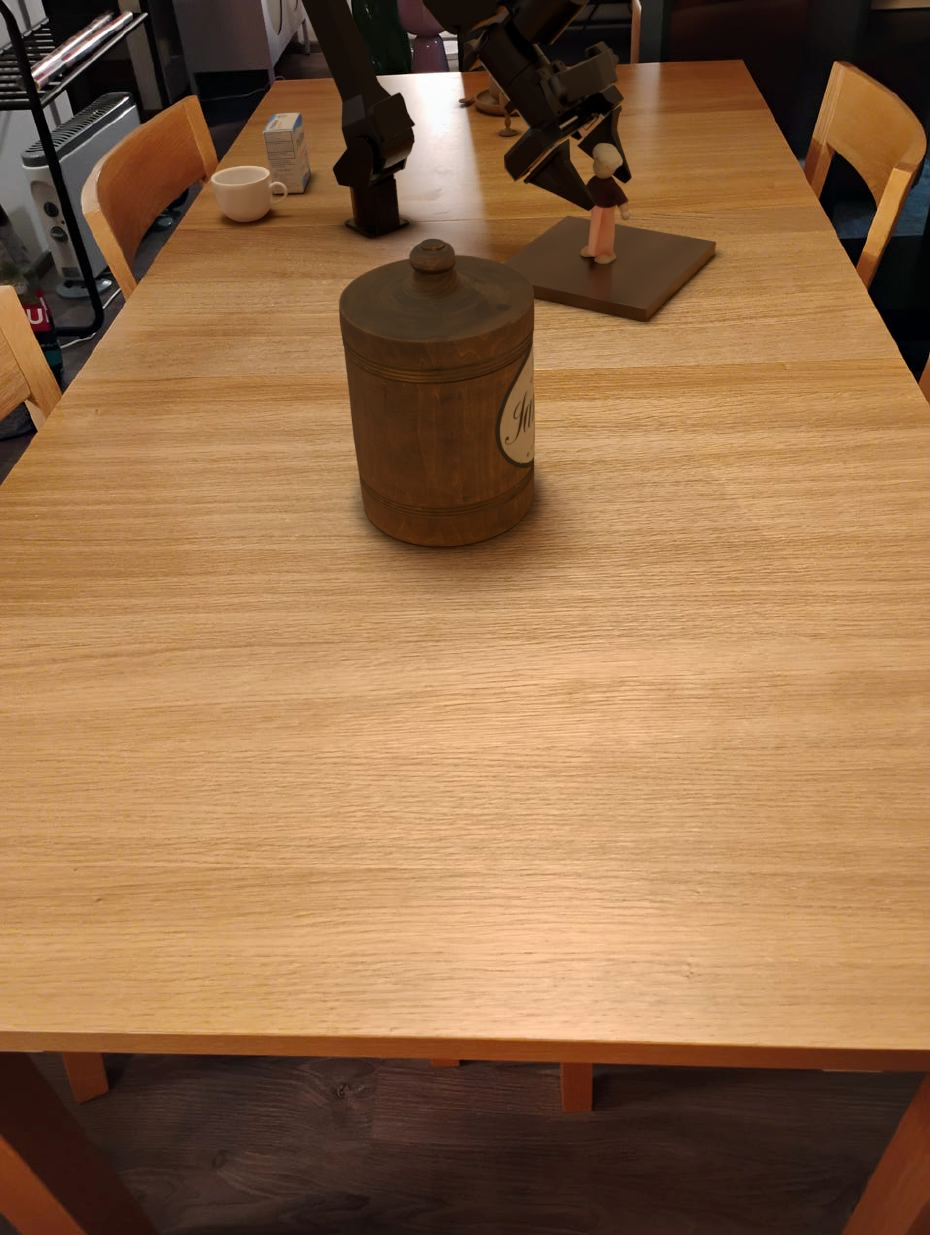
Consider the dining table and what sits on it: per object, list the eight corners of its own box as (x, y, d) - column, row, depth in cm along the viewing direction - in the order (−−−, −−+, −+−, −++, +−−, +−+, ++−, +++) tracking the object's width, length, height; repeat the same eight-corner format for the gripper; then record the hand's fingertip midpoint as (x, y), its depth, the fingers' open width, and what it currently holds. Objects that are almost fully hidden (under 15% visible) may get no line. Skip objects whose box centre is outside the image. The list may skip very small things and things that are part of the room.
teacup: (212, 226, 134) (203, 185, 131) (229, 205, 140) (220, 165, 136) (283, 226, 133) (276, 185, 129) (298, 205, 138) (291, 165, 135)
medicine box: (303, 193, 142) (293, 129, 136) (273, 195, 142) (261, 130, 136) (311, 174, 148) (301, 111, 142) (281, 175, 148) (271, 113, 142)
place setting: (573, 102, 168) (574, 63, 164) (514, 138, 155) (513, 96, 151) (485, 91, 175) (483, 54, 171) (421, 124, 163) (418, 85, 159)
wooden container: (559, 526, 82) (564, 265, 67) (384, 565, 79) (348, 302, 64) (504, 434, 92) (497, 191, 77) (347, 466, 90) (310, 221, 75)
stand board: (714, 253, 120) (716, 241, 119) (645, 322, 107) (646, 309, 106) (567, 227, 128) (567, 215, 127) (487, 287, 116) (486, 275, 115)
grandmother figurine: (565, 255, 118) (567, 142, 109) (585, 245, 120) (589, 132, 111) (617, 271, 114) (624, 155, 105) (637, 260, 116) (645, 145, 107)
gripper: (528, 42, 97) (624, 175, 100) (612, 1, 108) (696, 122, 111) (463, 119, 105) (554, 240, 108) (547, 73, 117) (627, 184, 120)
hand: (611, 194), depth 112 cm, fingers open, 9 cm apart
